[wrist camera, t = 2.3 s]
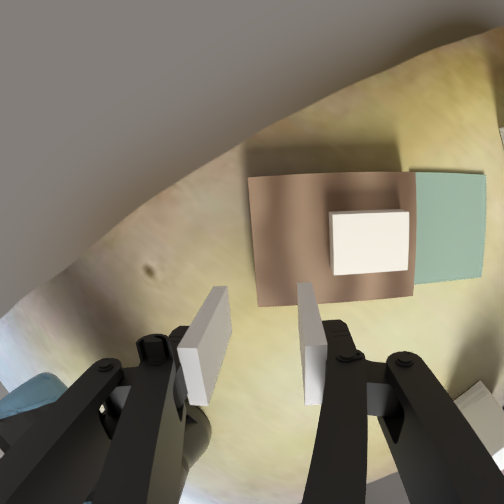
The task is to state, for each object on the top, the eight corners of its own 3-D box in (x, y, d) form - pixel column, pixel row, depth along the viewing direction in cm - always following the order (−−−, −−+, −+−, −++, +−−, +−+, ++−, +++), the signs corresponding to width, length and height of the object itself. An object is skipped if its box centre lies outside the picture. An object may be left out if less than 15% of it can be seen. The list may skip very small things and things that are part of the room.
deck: (260, 294, 39) (258, 307, 35) (251, 177, 35) (247, 177, 32) (401, 284, 37) (412, 295, 33) (402, 171, 34) (415, 171, 30)
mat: (408, 284, 37) (409, 284, 36) (409, 171, 33) (410, 171, 33) (479, 276, 35) (481, 277, 35) (484, 174, 32) (485, 174, 32)
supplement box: (438, 409, 41) (471, 470, 27) (480, 378, 39) (521, 432, 25) (451, 432, 42) (479, 487, 28) (488, 404, 40) (523, 454, 26)
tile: (330, 268, 33) (333, 275, 31) (328, 211, 32) (332, 214, 29) (399, 263, 32) (407, 270, 30) (400, 209, 31) (409, 211, 28)
